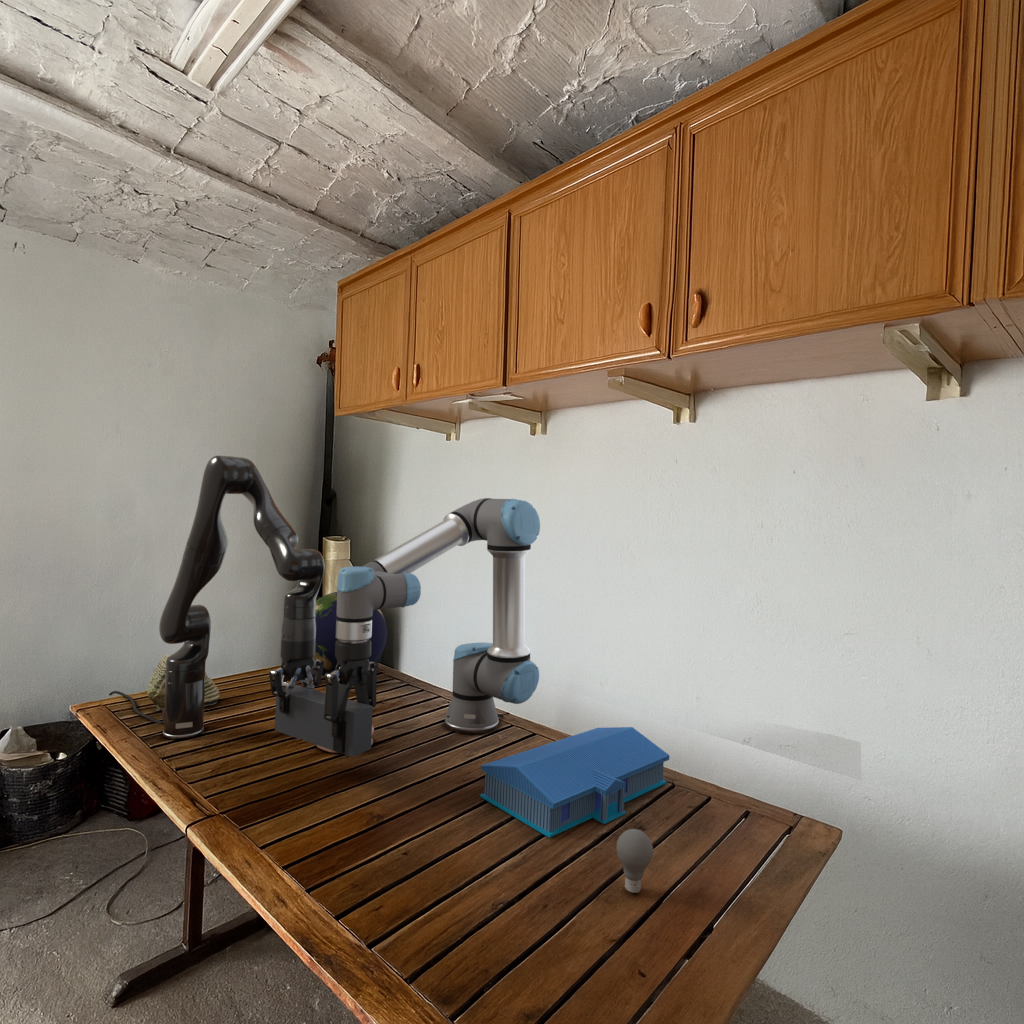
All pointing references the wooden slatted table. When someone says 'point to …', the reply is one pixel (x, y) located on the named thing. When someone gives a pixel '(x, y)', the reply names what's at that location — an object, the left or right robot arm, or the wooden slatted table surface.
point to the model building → (575, 778)
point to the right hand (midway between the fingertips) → (349, 746)
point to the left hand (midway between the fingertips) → (295, 709)
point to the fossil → (158, 687)
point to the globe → (327, 632)
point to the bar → (324, 721)
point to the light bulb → (634, 857)
